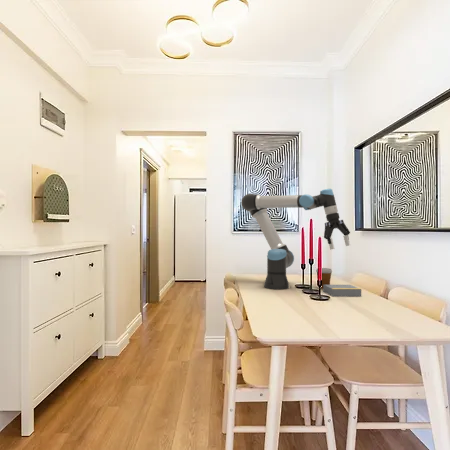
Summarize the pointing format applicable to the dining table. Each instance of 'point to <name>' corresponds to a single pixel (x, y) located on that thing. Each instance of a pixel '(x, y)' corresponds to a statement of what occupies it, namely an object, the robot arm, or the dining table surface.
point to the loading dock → (342, 290)
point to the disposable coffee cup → (325, 276)
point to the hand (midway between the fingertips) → (340, 247)
